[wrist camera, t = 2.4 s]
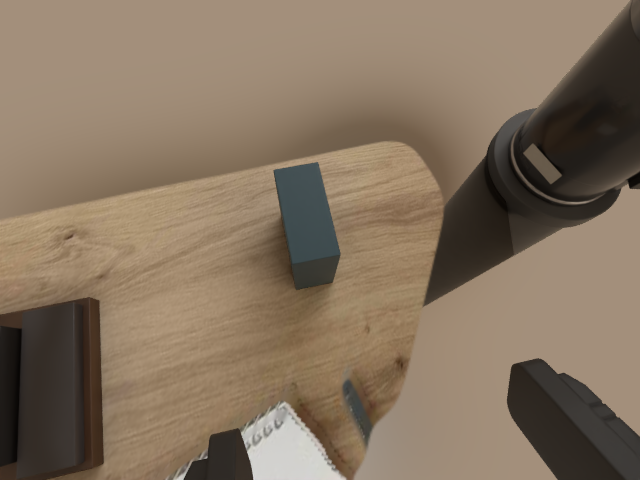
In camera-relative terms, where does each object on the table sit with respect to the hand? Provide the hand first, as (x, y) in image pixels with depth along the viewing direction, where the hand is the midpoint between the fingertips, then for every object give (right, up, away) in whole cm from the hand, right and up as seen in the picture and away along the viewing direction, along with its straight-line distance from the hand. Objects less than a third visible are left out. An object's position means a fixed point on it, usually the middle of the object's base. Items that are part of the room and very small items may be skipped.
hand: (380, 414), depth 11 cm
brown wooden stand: (-26, -7, +18) cm, 32 cm away
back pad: (-3, +4, +22) cm, 23 cm away
